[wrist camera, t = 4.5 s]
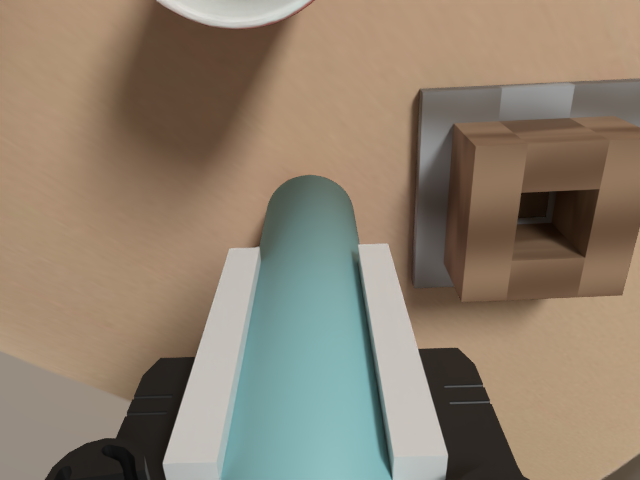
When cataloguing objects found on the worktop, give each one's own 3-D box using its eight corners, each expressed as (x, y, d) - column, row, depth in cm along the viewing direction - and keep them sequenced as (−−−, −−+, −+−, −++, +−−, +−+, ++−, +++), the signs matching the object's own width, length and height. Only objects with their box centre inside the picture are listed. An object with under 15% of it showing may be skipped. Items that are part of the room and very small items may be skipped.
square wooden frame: (419, 88, 33) (440, 110, 27) (645, 78, 32) (711, 98, 27) (411, 281, 39) (427, 329, 34) (600, 272, 39) (646, 320, 33)
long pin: (263, 175, 17) (132, 693, 5) (354, 174, 17) (464, 686, 5) (269, 256, 19) (178, 826, 6) (353, 254, 19) (437, 820, 6)
